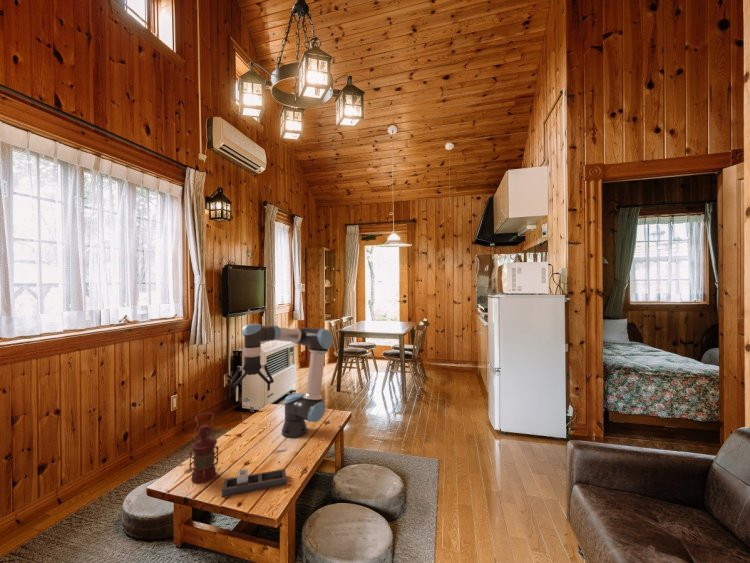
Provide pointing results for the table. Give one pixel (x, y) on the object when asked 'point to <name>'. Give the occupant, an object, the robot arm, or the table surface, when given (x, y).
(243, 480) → the block
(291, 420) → the robot arm
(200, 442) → the lantern
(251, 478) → the dark grey divided frame
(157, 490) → the table surface
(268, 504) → the table surface
